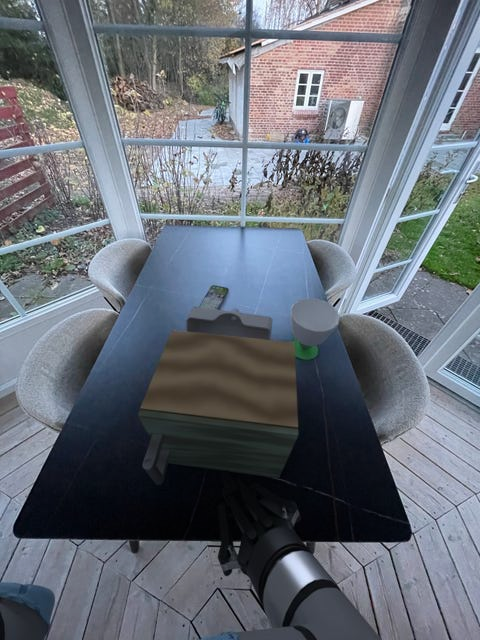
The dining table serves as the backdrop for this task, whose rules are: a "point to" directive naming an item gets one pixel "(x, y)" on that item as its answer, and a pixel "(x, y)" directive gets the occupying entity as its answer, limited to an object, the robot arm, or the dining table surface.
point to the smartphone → (214, 297)
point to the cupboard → (226, 379)
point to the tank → (228, 323)
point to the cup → (312, 325)
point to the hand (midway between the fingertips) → (225, 478)
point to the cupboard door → (214, 445)
